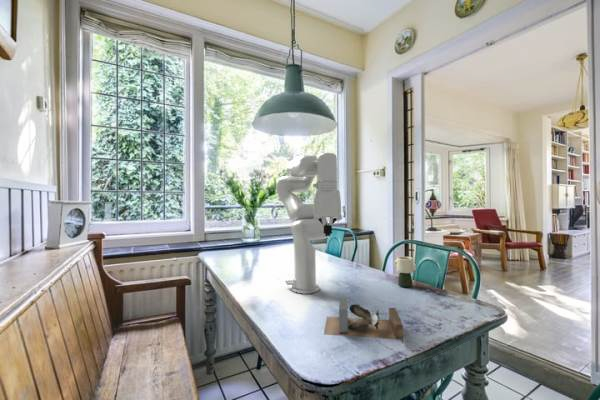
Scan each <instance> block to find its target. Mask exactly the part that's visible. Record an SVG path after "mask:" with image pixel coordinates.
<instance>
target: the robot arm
mask: <svg viewBox="0 0 600 400" xmlns="http://www.w3.org/2000/svg"><path fill="white" fill-rule="evenodd" d="M286 172H287V173H288V175H282V176H280V177H278V178H277V180H276V181H275V190H276V194H277V197H278V199H279V200H280V201H281V203H282V204H283V205H284V207H285V208H284V209H285V210H286V213H287V214H288V217H289V220H290V222H292V226H291V233H292V235H291V236H292V239H293V251H294V253H293V254H294V278H292V279H285V284H286V285H288V286H291V291H292V290H293V291H292V292H294V293H296V292H297V294H301V293H302V294H307V295H308V294H313V293H317V292H319V290H320V286H319V285H318V283H317V282H316V281H317V280H316V279H317V277H316V276H317V275H316V273H317V271H316V267H317V266H316V249H315V247H314V245H313V244H312V242H311V241H317V240H319V241H320V240H324V239H328V238H329V237H331V235H332V234H333V224H334V223H335V222H339V221H341V220H343V216H342V201H341V199H342V198H341V192H340V189H338V159H337V155H336V153H333V152H321V153H319V154H318V155H297V156H295V157H294V158H293V159H292V160H290V161H288V163H287V165H286ZM315 177H316V183H313V182H314V180H315ZM311 186H312V188H315V189H316V190H314V195H313V203H303V202H302V200H301V198H300V197H299V196H298V195H297V194H295V193H306V192H308V191H309V190H310V189H311ZM327 218H329V221H328V219H327ZM302 294H301V295H302Z"/></svg>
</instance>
